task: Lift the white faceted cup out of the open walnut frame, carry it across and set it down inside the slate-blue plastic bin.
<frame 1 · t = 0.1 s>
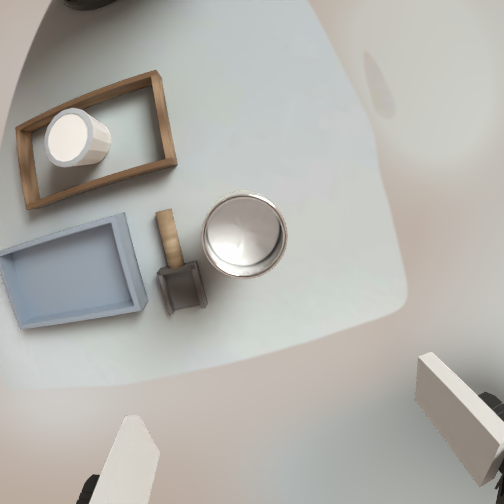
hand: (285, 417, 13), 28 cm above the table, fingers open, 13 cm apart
silver metal tumbler: (241, 217, 39), on the table
walnut frame: (92, 143, 36), on the table
hand scoop: (178, 264, 40), on the table
white faceted cup: (92, 143, 36), resting in walnut frame
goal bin: (69, 273, 39), on the table
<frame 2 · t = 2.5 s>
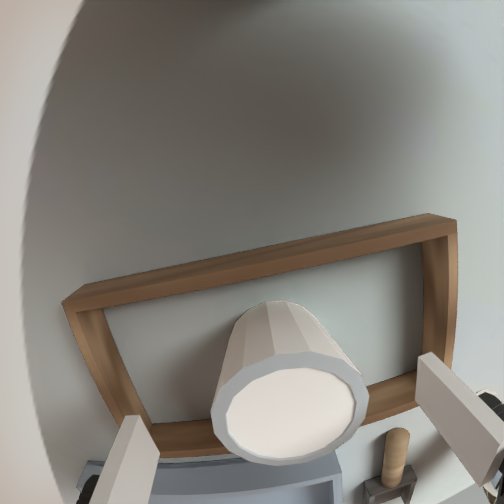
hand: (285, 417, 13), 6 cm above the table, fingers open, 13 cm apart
silver metal tumbler: (471, 412, 22), on the table
walnut frame: (276, 343, 19), on the table
hand scoop: (387, 473, 23), on the table
white faceted cup: (275, 341, 19), resting in walnut frame
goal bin: (217, 497, 22), on the table
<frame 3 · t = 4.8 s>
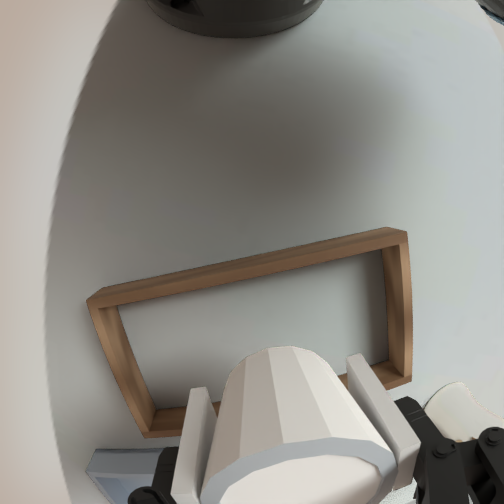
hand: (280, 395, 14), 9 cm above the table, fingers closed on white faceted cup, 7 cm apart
silver metal tumbler: (443, 404, 26), on the table
walnut frame: (260, 335, 23), on the table
white faceted cup: (280, 391, 15), point 8 cm above the table, touching gripper
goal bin: (212, 482, 26), on the table
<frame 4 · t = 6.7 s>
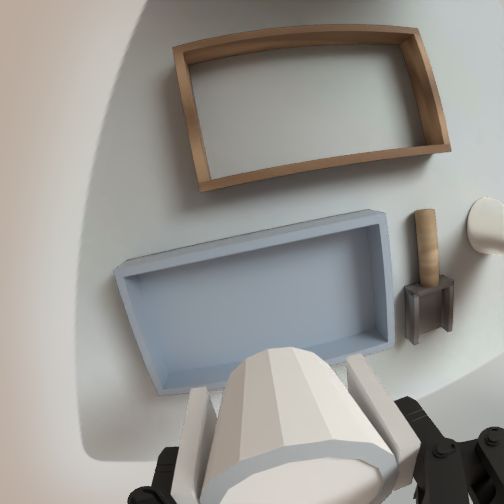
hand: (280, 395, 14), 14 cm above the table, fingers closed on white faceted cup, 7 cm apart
silver metal tumbler: (483, 224, 27), on the table
walnut frame: (316, 99, 24), on the table
hand scoop: (424, 280, 28), on the table
white faceted cup: (280, 392, 15), point 13 cm above the table, touching gripper
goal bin: (261, 300, 28), on the table
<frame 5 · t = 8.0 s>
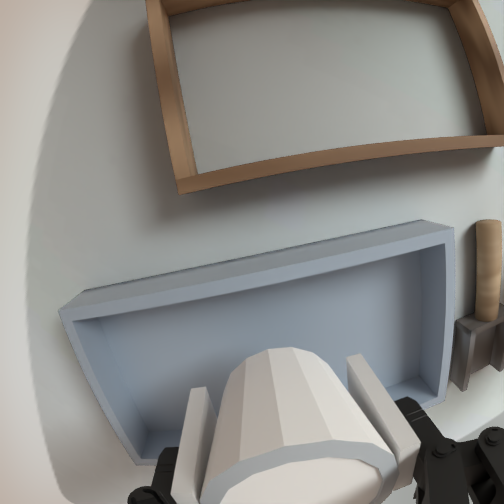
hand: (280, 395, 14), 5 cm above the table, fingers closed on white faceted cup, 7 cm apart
walnut frame: (351, 63, 16), on the table
hand scoop: (478, 310, 20), on the table
white faceted cup: (280, 392, 15), point 4 cm above the table, touching gripper
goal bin: (272, 347, 19), on the table
when the fingers open (1 cm above the table, at t = 9.1 s): white faceted cup stays where it is, resting on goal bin.
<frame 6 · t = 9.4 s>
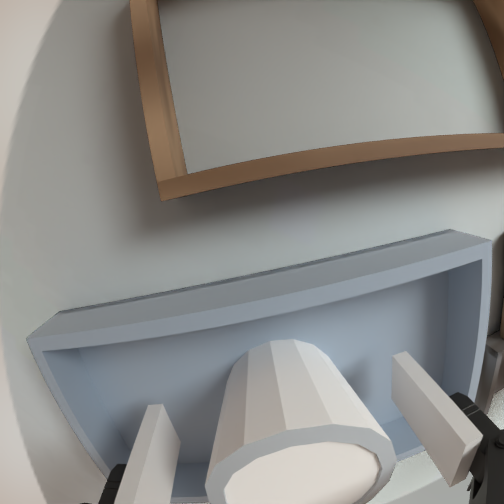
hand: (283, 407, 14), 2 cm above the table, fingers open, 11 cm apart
walnut frame: (370, 45, 13), on the table
hand scoop: (503, 328, 16), on the table
white faceted cup: (281, 384, 16), resting on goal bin
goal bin: (277, 379, 16), on the table
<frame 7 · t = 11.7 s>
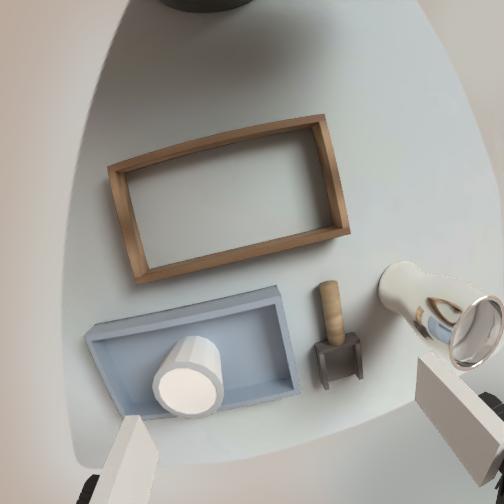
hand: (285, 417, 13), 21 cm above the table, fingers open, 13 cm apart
silver metal tumbler: (399, 285, 35), on the table
walnut frame: (228, 197, 32), on the table
hand scoop: (334, 337, 35), on the table
white faceted cup: (195, 356, 34), resting on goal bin
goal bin: (194, 354, 35), on the table
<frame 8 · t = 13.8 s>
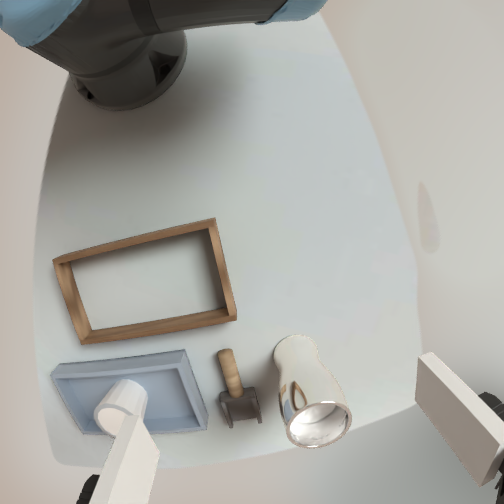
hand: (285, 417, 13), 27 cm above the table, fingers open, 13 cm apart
silver metal tumbler: (295, 353, 42), on the table
walnut frame: (143, 282, 39), on the table
hand scoop: (236, 389, 42), on the table
white faceted cup: (130, 393, 42), resting on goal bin
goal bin: (130, 391, 42), on the table
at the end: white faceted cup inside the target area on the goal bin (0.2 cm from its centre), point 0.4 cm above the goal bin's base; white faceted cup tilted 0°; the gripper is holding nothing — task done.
